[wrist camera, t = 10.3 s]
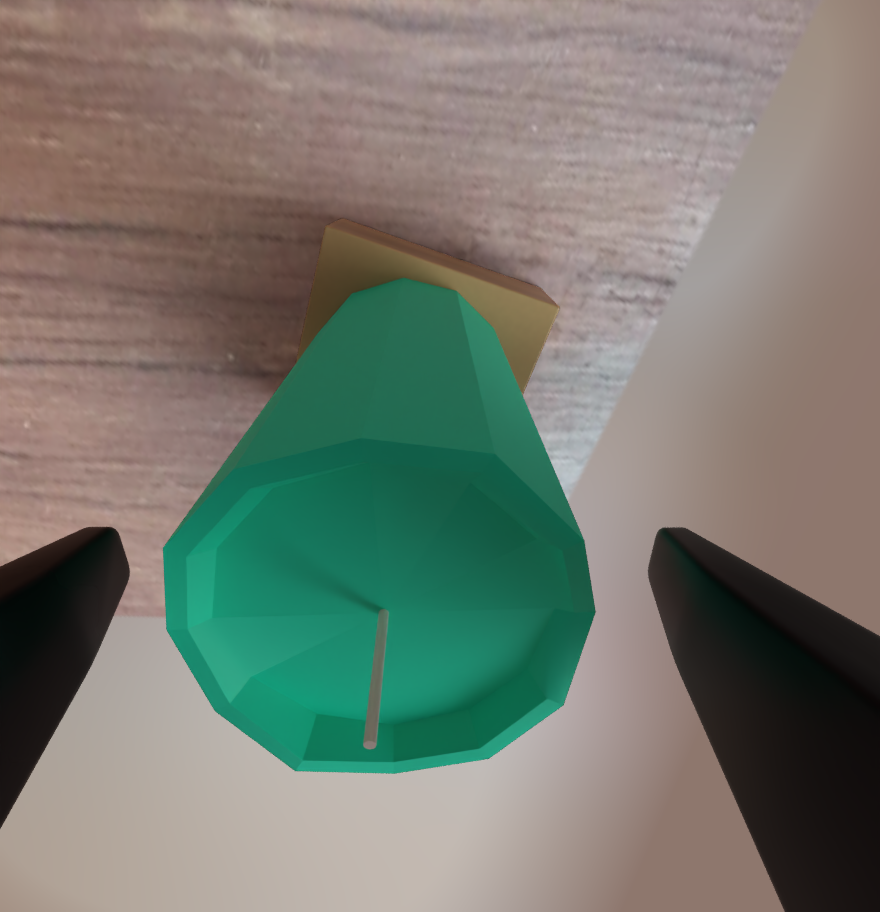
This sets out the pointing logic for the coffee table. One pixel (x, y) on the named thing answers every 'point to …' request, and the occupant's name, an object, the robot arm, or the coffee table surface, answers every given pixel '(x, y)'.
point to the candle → (385, 551)
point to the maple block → (390, 258)
